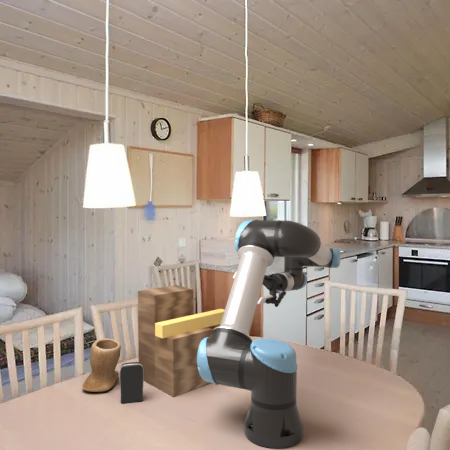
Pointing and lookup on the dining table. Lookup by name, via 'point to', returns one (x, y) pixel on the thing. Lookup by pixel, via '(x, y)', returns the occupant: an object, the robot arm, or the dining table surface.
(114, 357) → the brown boot
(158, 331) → the bar
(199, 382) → the step shelf
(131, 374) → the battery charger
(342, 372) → the dining table surface
